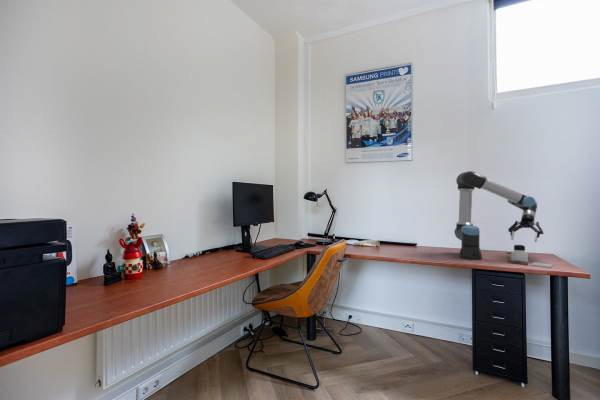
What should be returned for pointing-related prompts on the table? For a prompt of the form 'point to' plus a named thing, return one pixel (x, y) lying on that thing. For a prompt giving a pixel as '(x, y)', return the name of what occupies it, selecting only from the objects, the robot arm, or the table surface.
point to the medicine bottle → (519, 253)
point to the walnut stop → (518, 262)
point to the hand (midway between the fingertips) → (523, 239)
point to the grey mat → (542, 265)
